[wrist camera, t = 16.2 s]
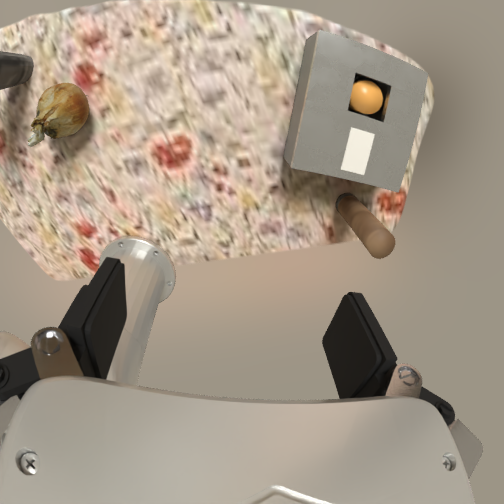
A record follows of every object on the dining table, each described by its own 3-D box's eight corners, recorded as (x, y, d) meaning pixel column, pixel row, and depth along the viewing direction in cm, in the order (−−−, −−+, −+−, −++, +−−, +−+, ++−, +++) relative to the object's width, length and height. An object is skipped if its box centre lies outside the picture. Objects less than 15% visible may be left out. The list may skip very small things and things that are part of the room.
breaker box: (378, 177, 37) (398, 192, 32) (283, 156, 35) (291, 168, 30) (403, 73, 29) (428, 73, 24) (306, 39, 27) (319, 29, 22)
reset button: (364, 115, 31) (378, 118, 28) (336, 106, 31) (348, 108, 27) (371, 86, 29) (385, 87, 26) (342, 77, 29) (354, 75, 25)
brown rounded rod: (343, 218, 40) (377, 263, 30) (331, 202, 39) (364, 245, 28) (360, 204, 39) (399, 246, 29) (349, 188, 38) (387, 226, 27)
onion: (97, 134, 32) (67, 146, 25) (52, 137, 31) (18, 150, 24) (100, 79, 28) (69, 79, 21) (53, 86, 27) (18, 90, 20)
